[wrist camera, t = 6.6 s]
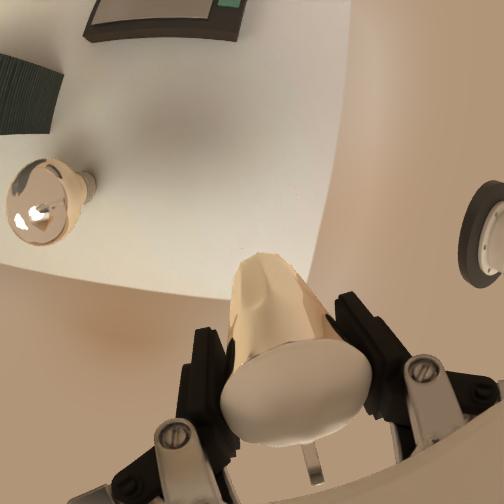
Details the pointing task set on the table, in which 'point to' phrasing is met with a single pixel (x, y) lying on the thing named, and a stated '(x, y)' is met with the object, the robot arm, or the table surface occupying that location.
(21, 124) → the cassette player
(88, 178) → the light bulb
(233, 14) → the scale
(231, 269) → the table surface
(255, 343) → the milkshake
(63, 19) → the table surface
